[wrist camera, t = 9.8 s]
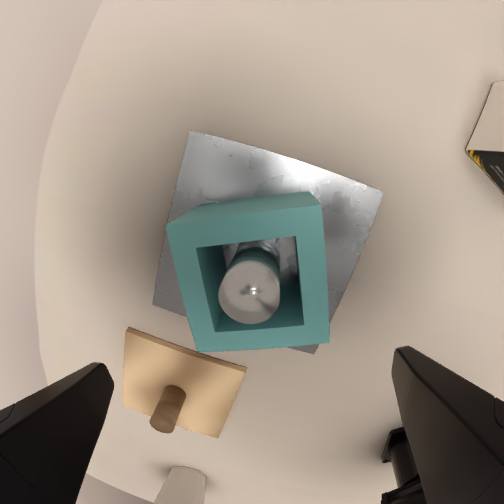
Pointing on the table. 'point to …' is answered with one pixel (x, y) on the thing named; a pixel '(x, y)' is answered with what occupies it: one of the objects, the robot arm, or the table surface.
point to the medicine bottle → (490, 136)
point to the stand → (178, 385)
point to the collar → (214, 269)
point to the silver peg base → (269, 250)
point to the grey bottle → (182, 487)
